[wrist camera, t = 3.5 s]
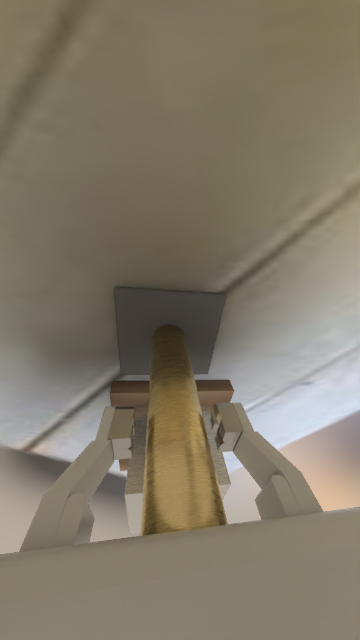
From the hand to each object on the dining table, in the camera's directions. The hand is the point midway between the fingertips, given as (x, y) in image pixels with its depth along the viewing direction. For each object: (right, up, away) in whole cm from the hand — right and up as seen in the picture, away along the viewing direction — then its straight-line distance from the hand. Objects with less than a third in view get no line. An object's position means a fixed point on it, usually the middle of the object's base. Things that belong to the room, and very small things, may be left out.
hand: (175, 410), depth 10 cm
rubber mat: (-1, +4, +7) cm, 8 cm away
